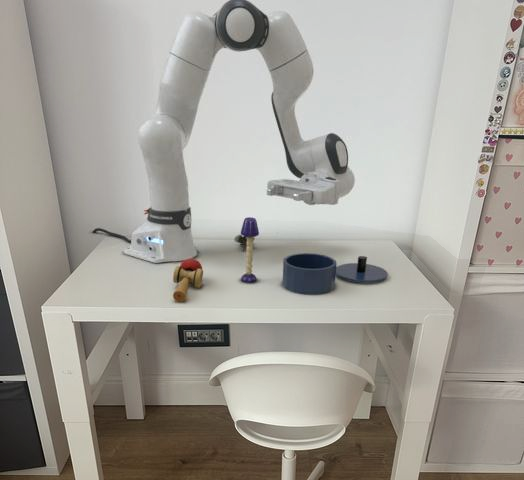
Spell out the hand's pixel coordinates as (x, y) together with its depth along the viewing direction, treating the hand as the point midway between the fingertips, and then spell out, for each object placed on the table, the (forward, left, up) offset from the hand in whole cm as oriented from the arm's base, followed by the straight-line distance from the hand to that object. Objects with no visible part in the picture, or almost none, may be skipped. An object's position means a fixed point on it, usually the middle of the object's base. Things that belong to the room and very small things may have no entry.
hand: (281, 194), depth 132 cm
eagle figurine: (-18, +15, -21) cm, 32 cm away
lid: (+22, +7, -20) cm, 30 cm away
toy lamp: (-3, -12, -21) cm, 24 cm away
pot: (+12, -7, -21) cm, 25 cm away
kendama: (-14, -25, -21) cm, 36 cm away
